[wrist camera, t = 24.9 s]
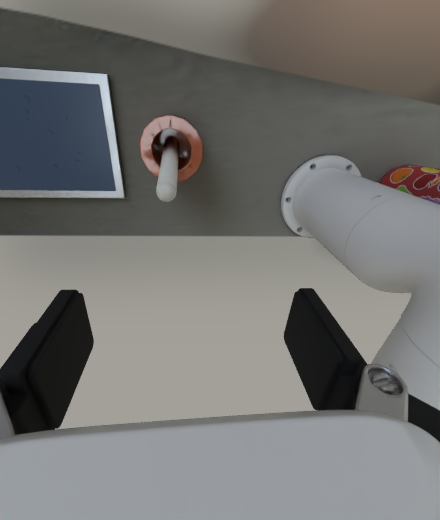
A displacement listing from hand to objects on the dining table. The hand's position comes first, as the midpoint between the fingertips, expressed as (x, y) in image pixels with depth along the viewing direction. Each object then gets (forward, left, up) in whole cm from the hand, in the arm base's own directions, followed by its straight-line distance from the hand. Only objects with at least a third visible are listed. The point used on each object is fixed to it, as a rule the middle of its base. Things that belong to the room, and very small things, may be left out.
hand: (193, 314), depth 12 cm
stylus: (+2, -5, -28) cm, 28 cm away
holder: (+2, -4, -28) cm, 29 cm away
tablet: (+19, -4, -28) cm, 34 cm away
